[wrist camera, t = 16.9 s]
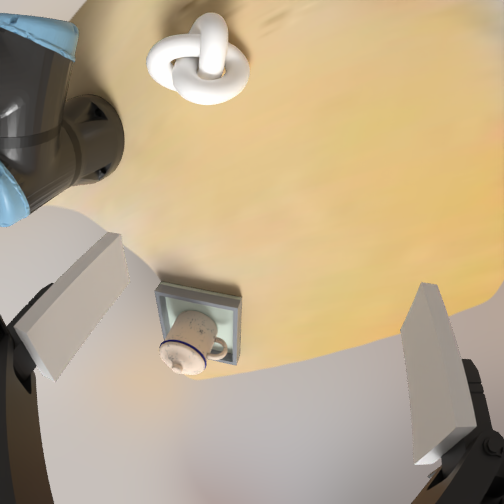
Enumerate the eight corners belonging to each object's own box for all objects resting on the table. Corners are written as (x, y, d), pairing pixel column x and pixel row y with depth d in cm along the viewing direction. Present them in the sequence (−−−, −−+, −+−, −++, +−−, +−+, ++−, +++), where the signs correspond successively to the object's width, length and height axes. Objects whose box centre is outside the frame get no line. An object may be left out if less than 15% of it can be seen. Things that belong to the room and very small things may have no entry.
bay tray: (171, 338, 67) (165, 348, 65) (161, 281, 59) (154, 290, 56) (239, 354, 65) (236, 365, 63) (242, 297, 56) (237, 308, 54)
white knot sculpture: (182, 12, 33) (150, 3, 26) (268, 26, 33) (253, 14, 25) (165, 86, 40) (131, 92, 32) (246, 104, 39) (226, 113, 32)
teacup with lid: (180, 337, 65) (158, 379, 55) (172, 304, 60) (147, 348, 51) (235, 347, 63) (219, 393, 53) (232, 314, 58) (214, 363, 48)
